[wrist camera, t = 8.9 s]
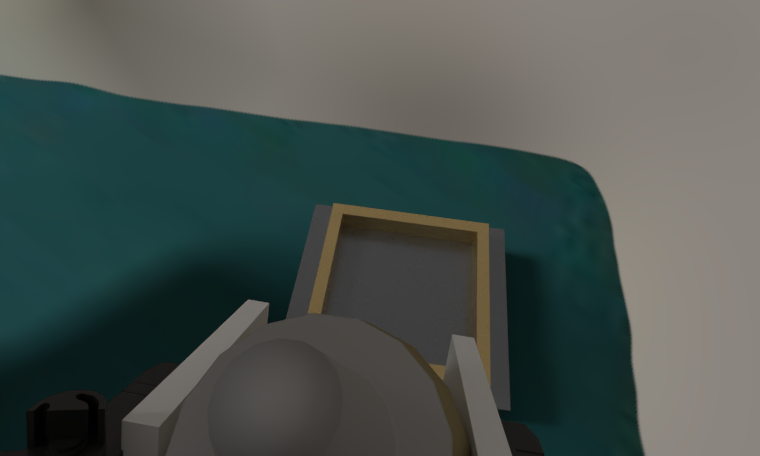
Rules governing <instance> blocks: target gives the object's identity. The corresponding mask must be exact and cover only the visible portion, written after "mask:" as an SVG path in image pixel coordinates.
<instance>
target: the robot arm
mask: <svg viewBox="0 0 760 456" xmlns="http://www.w3.org/2000/svg"><path fill="white" fill-rule="evenodd" d="M268 311H269V303H266V302H260V301H255V300H249V299H248V300H247V301H246V302H245V303H244V304H243V305H242V306H241V307H240V308H239V309H238V310H237V311H236V312H235V313H234V314H233V315H231V316H230V317H229V318H228V319H227V320H226V321H225V322H224V323H223V324H222V325H221V326H220V327H219V328H218V329H217V330H216V331H215V332H214V333H213V334H212V335H211V336H209V337H208V338H207V339H206V340H205V341H204V342H203V343H202V344H201V345H200V346H199V347H198V348H197V349H196V350H195V351H194V352H193V353H192V354H191V355H190V356H189V357H188V358H186V359H185V360H184V361H183V362H182V363H181V364H176V363H171V362H163V363H161V364H158V365H156V366H154V367H152V368H150V369H148V370H146V371H145V372H144V373H142V374H141V375H140V376H139V377H138V378H137V379H135V380H134V381H133V384H130V385H128V386H127V387H126V388H125V389H124V390H123V391H122V393H119V394H118V395H117V396H116V397H114V398H113V399H112V400H111V401H110V402H109V403H107V401H106V399H105V397H104V396H103V395H102V394H100V393H97V392H95V391H89V390H74V391H65V392H62V393H58V394H55V395H52V396H49V397H47V398H45V399H43V400H41V401H39V402H37V403H35V404H34V405H33V406H32V407H31V408H29V409H28V410H27V411H26V418H27V450H20V451H4V452H0V456H165V453H166V451H167V448H168V445H169V442H170V439H171V436H172V433H173V430H174V428H175V425H176V422H177V419H178V416H179V413H180V410H181V407H182V405H183V402H184V400H185V399H186V397H187V396H188V395H189V394H190V392H191V391H192V390H193V388H194V387H195V386H196V385H197V383H198V382H199V381H200V379H201V378H202V377H203V375H204V374H205V373H206V372H207V370H208V369H209V368H210V366H211V365H212V364H213V363H214V361H215V360H216V359H217V357H218V356H219V355H220V354H221V353H223V352H224V351H226V350H227V349H229V348H230V347H232V346H233V345H235V344H236V343H238V342H239V341H241V340H242V339H244V338H245V337H247V336H248V335H250V334H251V333H253V332H254V331H256V330H257V329H259V328H260V327H262V326H263V325H265V324H267V322H268ZM443 382H444V383H445V384H446V386H447V387H448V388H449V389H450V392H451V394H452V397H453V400H454V403H455V405H456V408H457V411H458V414H459V417H460V419H461V422H462V425H463V428H464V431H465V433H466V436H467V439H468V442H469V444H470V447H471V456H544V452H543V450H542V447H541V445H540V443H539V440H538V438H537V437H536V436H535V435H534V434H533V433H532V432H531V431H530V430H529V429H528V427H527V426H526V425H525V424H520V423H515V422H509V421H504V420H500V417H499V414H498V410H497V407H496V404H495V401H494V398H493V395H492V392H491V389H490V386H489V383H488V379H487V376H486V373H485V370H484V367H483V364H482V361H481V358H480V355H479V352H478V348H477V345H476V342H475V339H474V338H472V337H466V336H460V335H454V334H452V337H451V342H450V347H449V352H448V357H447V362H446V367H445V372H444V377H443Z"/></svg>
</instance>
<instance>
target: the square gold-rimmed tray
mask: <svg viewBox="0 0 760 456" xmlns="http://www.w3.org/2000/svg"><path fill="white" fill-rule="evenodd" d="M310 313H318V314H326V315H334V316H342V317H350V318H358V319H361V320H362V321H364V322H369V323H372V324H373V325H375V326H377V327H379V328H381V329H382V330H384V331H386V332H388V333H390V334H391V335H393V336H395V337H397V338H399V339H401V340H402V341H404V342H406V343H408V344H410V345H411V346H413V347H415V348H416V350H417V351H418V352H419V353H420V354H421V356H422V357H423V358H424V359H425V360H426V362H427V363H428V364H429V365H430V366H431V368H432V369H433V370H434V371H435V372H436V374H437V375H438V376H439V377H440V378H441V380H442V381H443V377H444V372H445V367H446V362H447V357H448V352H449V347H450V342H451V337H452V334H454V335H460V336H466V337H472V338H474V339H475V342H476V345H477V348H478V352H479V355H480V358H481V361H482V364H483V367H484V370H485V373H486V376H487V379H488V383H489V386H490V389H491V392H492V395H493V398H494V401H495V404H496V407H497V410H498V414H499V417H500V416H502V415H504V414H506V413H507V412H509V411H511V410H510V381H509V353H508V324H507V296H506V267H505V238H504V229H496V228H489V224H485V223H478V222H470V221H463V220H456V219H448V218H441V217H433V216H426V215H418V214H411V213H404V212H396V211H389V210H381V209H374V208H366V207H359V206H351V205H344V204H337V203H334V204H333V206H326V205H318V204H316V206H315V210H314V214H313V218H312V221H311V225H310V229H309V233H308V236H307V240H306V244H305V248H304V252H303V255H302V259H301V263H300V267H299V270H298V274H297V278H296V282H295V286H294V289H293V293H292V297H291V301H290V304H289V308H288V312H287V316H286V319H289V318H293V317H297V316H301V315H306V314H310Z"/></svg>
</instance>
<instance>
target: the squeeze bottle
mask: <svg viewBox="0 0 760 456" xmlns="http://www.w3.org/2000/svg"><path fill="white" fill-rule="evenodd" d="M165 456H471V447H470V444H469V442H468V439H467V436H466V433H465V431H464V428H463V425H462V422H461V419H460V417H459V414H458V411H457V408H456V405H455V403H454V400H453V397H452V394H451V392H450V389H449V388H448V387H447V386H446V384H445V383H444V382H443V381H442V380H441V378H440V377H439V376H438V375H437V374H436V372H435V371H434V370H433V369H432V368H431V366H430V365H429V364H428V363H427V362H426V360H425V359H424V358H423V357H422V356H421V354H420V353H419V352H418V351H417V350H416V348H415V347H413V346H411V345H410V344H408V343H406V342H404V341H402V340H401V339H399V338H397V337H395V336H393V335H391V334H390V333H388V332H386V331H384V330H382V329H381V328H379V327H377V326H375V325H373V324H372V323H369V322H364V321H362V320H361V319H358V318H350V317H342V316H334V315H326V314H318V313H310V314H306V315H301V316H297V317H293V318H289V319H285V320H281V321H277V322H273V323H269V324H265V325H263V326H262V327H260V328H259V329H257V330H256V331H254V332H253V333H251V334H250V335H248V336H247V337H245V338H244V339H242V340H241V341H239V342H238V343H236V344H235V345H233V346H232V347H230V348H229V349H227V350H226V351H224V352H223V353H221V354H220V355H219V356H218V357H217V359H216V360H215V361H214V363H213V364H212V365H211V366H210V368H209V369H208V370H207V372H206V373H205V374H204V375H203V377H202V378H201V379H200V381H199V382H198V383H197V385H196V386H195V387H194V388H193V390H192V391H191V392H190V394H189V395H188V396H187V397H186V399H185V400H184V402H183V405H182V407H181V410H180V413H179V416H178V419H177V422H176V425H175V428H174V430H173V433H172V436H171V439H170V442H169V445H168V448H167V451H166V453H165Z"/></svg>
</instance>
